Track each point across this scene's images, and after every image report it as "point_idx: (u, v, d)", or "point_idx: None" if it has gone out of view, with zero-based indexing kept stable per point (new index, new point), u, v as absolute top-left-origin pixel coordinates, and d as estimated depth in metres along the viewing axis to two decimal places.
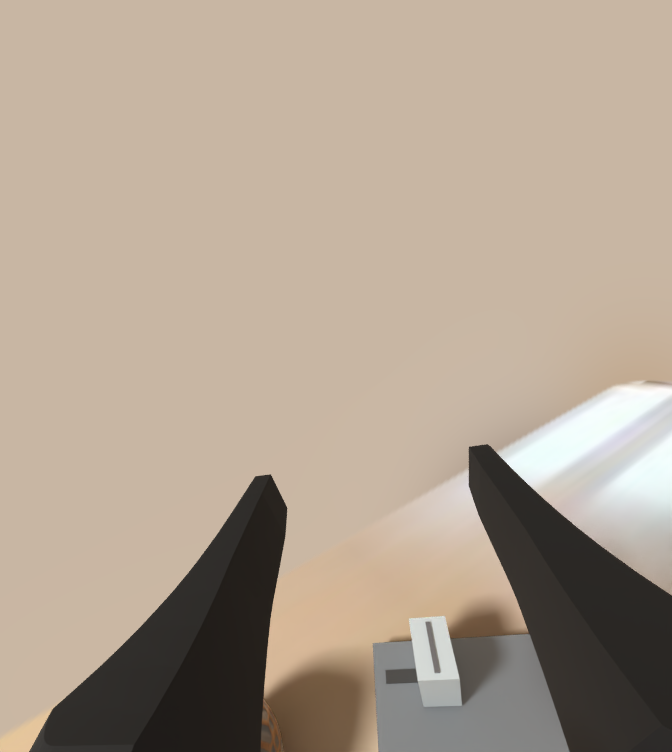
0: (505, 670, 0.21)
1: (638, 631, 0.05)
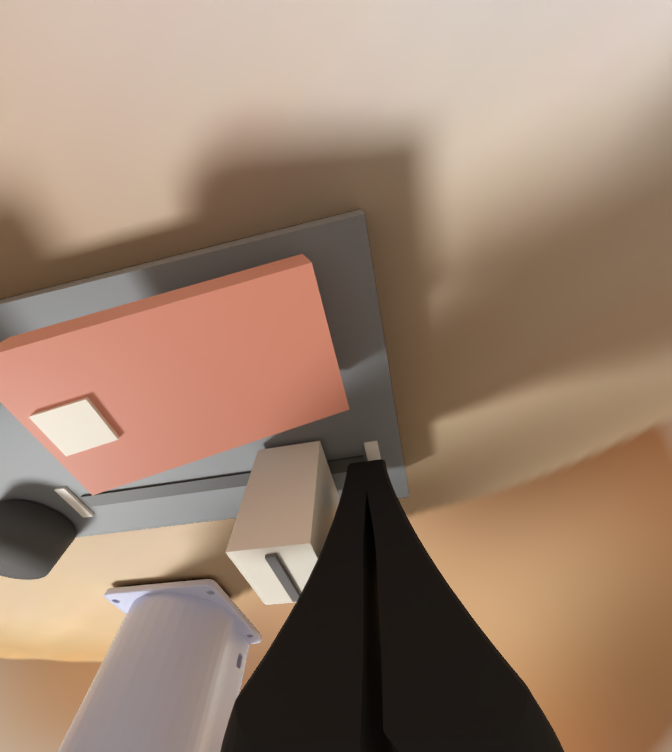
0: None
1: (417, 644, 0.06)
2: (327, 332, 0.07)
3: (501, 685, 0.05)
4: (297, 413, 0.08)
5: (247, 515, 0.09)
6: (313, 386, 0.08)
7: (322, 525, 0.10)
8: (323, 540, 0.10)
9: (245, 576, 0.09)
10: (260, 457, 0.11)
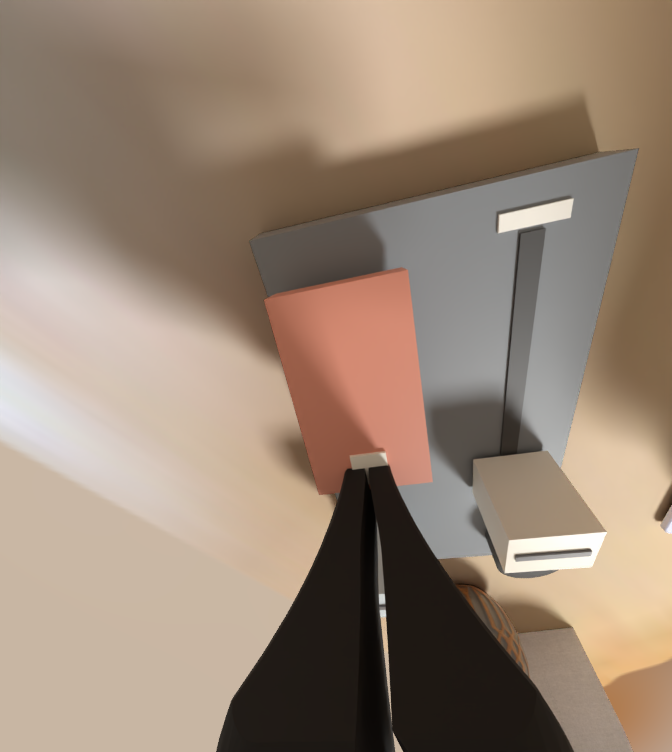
0: None
1: (424, 643, 0.06)
2: (320, 290, 0.09)
3: (510, 684, 0.05)
4: (398, 323, 0.09)
5: (494, 541, 0.13)
6: (371, 306, 0.09)
7: (525, 508, 0.12)
8: (535, 516, 0.12)
9: (540, 569, 0.12)
10: (475, 496, 0.15)
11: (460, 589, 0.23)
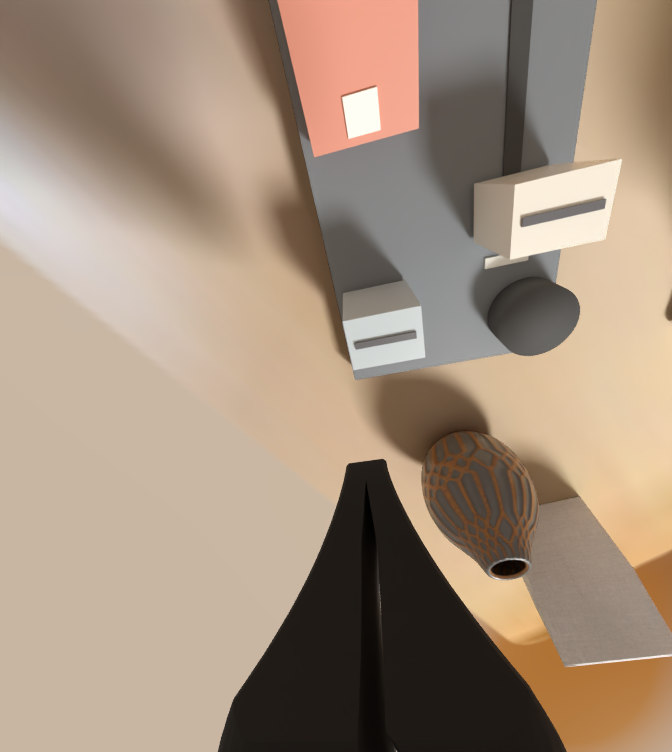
0: (359, 214, 0.14)
1: (419, 643, 0.06)
2: None
3: (503, 685, 0.05)
4: None
5: (498, 244, 0.12)
6: None
7: (531, 176, 0.11)
8: (542, 175, 0.11)
9: (549, 249, 0.11)
10: (476, 239, 0.14)
11: (462, 431, 0.22)
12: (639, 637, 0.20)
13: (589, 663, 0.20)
